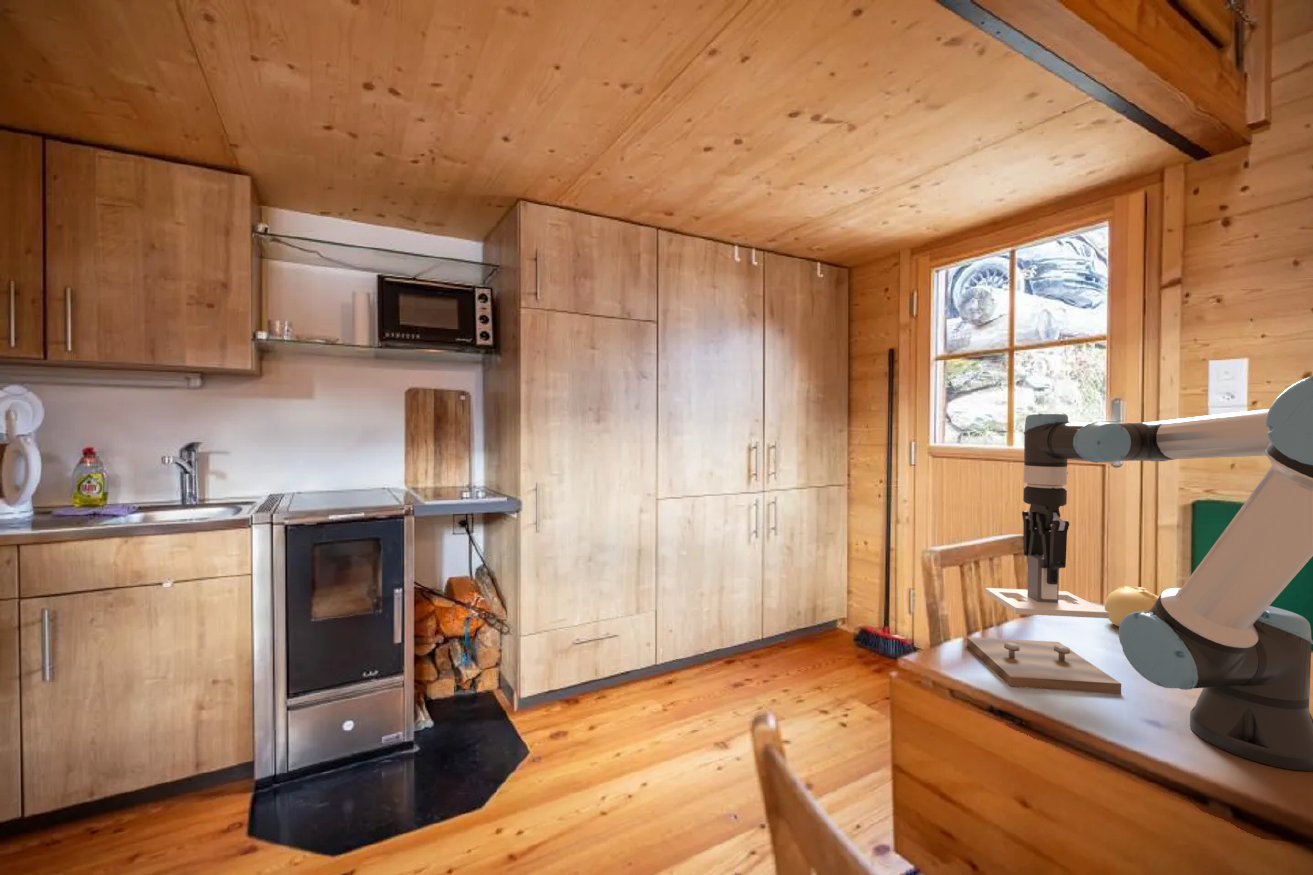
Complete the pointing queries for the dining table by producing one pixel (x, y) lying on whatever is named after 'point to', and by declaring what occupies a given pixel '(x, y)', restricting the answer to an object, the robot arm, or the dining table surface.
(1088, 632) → the dining table surface
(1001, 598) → the panel
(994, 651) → the board
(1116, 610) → the sculpture
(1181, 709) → the dining table surface
